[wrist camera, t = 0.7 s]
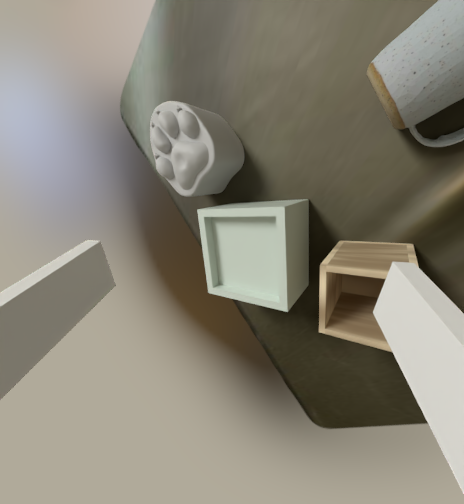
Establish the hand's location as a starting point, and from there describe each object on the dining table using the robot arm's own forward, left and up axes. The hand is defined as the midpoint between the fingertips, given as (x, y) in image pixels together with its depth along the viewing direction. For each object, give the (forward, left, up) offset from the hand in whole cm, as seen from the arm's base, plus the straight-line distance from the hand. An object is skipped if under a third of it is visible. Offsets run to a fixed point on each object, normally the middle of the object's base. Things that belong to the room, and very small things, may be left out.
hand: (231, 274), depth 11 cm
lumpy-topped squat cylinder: (-10, -20, -24) cm, 32 cm away
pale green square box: (+5, -10, -23) cm, 26 cm away
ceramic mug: (-11, +9, -24) cm, 27 cm away
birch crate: (+8, +4, -23) cm, 25 cm away
